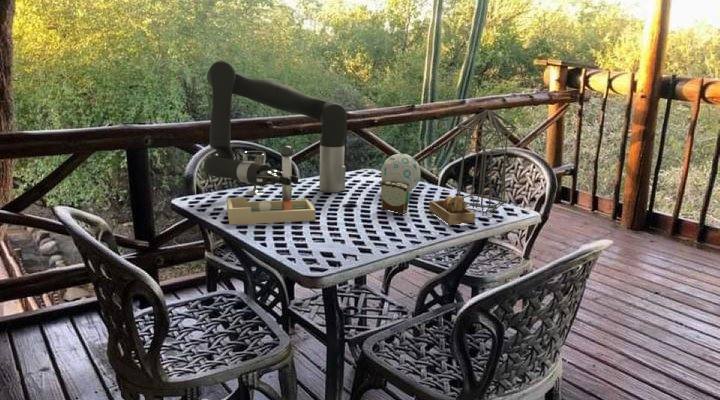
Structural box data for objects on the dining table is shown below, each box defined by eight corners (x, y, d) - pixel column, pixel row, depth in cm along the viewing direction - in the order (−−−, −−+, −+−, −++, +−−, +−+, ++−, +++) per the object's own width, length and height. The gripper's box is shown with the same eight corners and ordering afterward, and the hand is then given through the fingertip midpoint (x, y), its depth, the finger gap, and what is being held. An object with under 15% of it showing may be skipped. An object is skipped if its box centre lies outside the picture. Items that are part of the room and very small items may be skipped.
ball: (270, 210, 187) (270, 198, 186) (272, 213, 184) (272, 201, 183) (258, 211, 186) (257, 199, 185) (259, 214, 183) (259, 202, 182)
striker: (291, 207, 189) (291, 144, 184) (294, 211, 185) (294, 146, 180) (279, 207, 188) (279, 144, 183) (281, 211, 184) (281, 146, 179)
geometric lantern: (447, 213, 196) (454, 109, 187) (472, 205, 207) (480, 106, 198) (488, 224, 185) (498, 114, 176) (512, 214, 197) (522, 110, 188)
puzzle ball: (374, 194, 218) (375, 155, 214) (387, 186, 232) (389, 149, 228) (412, 199, 213) (415, 159, 209) (424, 190, 226) (426, 152, 222)
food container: (418, 212, 196) (419, 183, 193) (406, 216, 191) (408, 186, 189) (390, 205, 204) (391, 177, 201) (378, 208, 199) (379, 180, 197)
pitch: (307, 209, 196) (307, 195, 194) (315, 220, 183) (315, 205, 182) (227, 213, 188) (226, 198, 187) (229, 224, 176) (229, 209, 175)
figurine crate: (452, 211, 199) (453, 199, 198) (474, 225, 183) (475, 213, 182) (429, 212, 197) (429, 200, 196) (449, 226, 181) (450, 214, 180)
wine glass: (241, 191, 217) (240, 151, 213) (262, 189, 220) (262, 150, 216) (247, 196, 210) (246, 155, 206) (268, 194, 213) (268, 154, 210)
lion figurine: (467, 224, 184) (469, 197, 182) (452, 225, 183) (454, 198, 180) (448, 212, 198) (450, 186, 195) (434, 212, 196) (436, 186, 194)
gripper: (238, 165, 185) (278, 172, 176) (268, 159, 197) (308, 166, 187) (238, 188, 187) (278, 196, 178) (268, 180, 199) (308, 188, 189)
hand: (293, 181), depth 183 cm, fingers closed on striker, 3 cm apart
